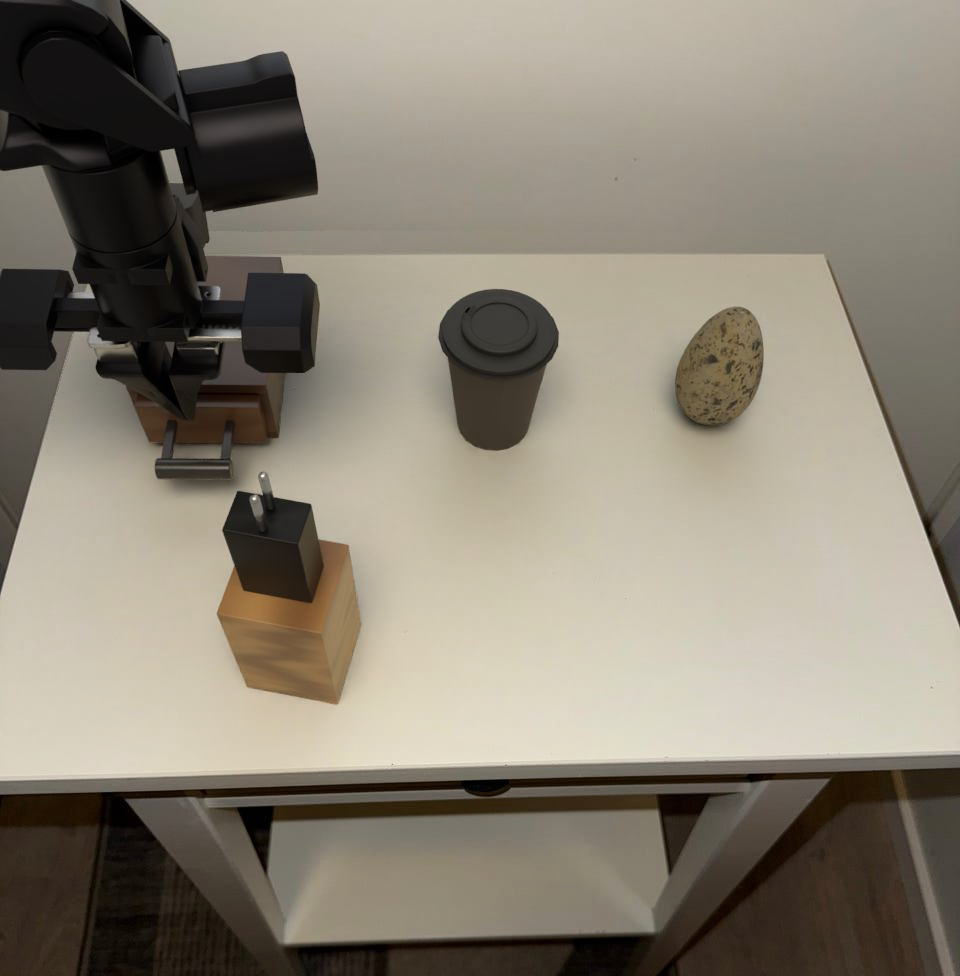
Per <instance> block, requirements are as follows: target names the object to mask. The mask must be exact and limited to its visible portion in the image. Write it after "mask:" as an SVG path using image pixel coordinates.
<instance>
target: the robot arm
mask: <svg viewBox="0 0 960 976" xmlns="http://www.w3.org/2000/svg"><path fill="white" fill-rule="evenodd" d="M169 150H174V153H175V156H176V161H177V165H178V169H179V172H180V177H181V180H182V182H170V180H169V177H168V173H167V169H166V165H165V162H164V158H163V155H162V151H169ZM35 167H41V168H42V170H43V172H44V175H45V178H46V180H47V182H48V185H49V188H50V190H51V192H52V195H53V197H54V200H55V202H56V204H57V208H58V210H59V212H60V215H61V217H62V220H63V223H64V225H65V227H66V230H67V233H68V234H69V238H70V240H71V243H72V245H73V248H74V251H75V255H74V259H73V264H72V267H71V270H72V272H73V274H74V277H75V279H76V282H77V284H78V285H89V288H90V290H91V291H74V288H75V283H74V281H73V277H72V276H71V273H70V271H69V270H65V269H59V268H57V269H55V268H54V269H53V268H50V269H49V268H45V269H44V268H2V269H1V270H0V369H1V370H2V371H47V370H48V369H49V368H50V367H51V366H52V365H53V364H54V363H55V362H56V359H57V355H58V352H57V350H56V348H55V345H54V344H53V342H52V341H53V336H54V334H55V332H63V333H64V332H67V333H68V332H69V333H73V332H74V333H88V334H87V335H88V336H87V339H86V343H87V345H88V347H89V348H90V349H93V351H94V353H95V355H96V362H95V367H94V368H95V371H96V374H97V375H98V376H99V377H100V378H102V379H106V380H114V381H117V382H118V383H120V384H121V385H124V386H125V385H126V386H127V387H129V388H131V389H133V390H135V391H137V392H139V393H140V394H142V395H144V396H146V397H147V398H149V399H151V400H152V401H154V402H155V403H157V404H158V405H160V406H161V407H163V408H164V409H166V410H167V411H169V412H170V413H172V414H173V415H175V416H176V417H178V418H179V419H181V420H194V418H195V411H196V404H197V396H198V391H199V389H200V387H201V385H202V382H203V381H204V380H214V379H216V378H218V377H219V376H220V374H221V369H222V362H223V355H224V348H225V341H239V342H241V341H242V352H243V356H244V360H245V363H246V364H247V365H249V366H251V367H252V368H254V369H255V370H257V371H259V372H260V373H285V374H306V373H308V372H309V371H311V370H312V369H313V368H315V366H316V355H317V345H318V344H317V342H318V331H319V321H320V310H321V309H320V307H321V302H320V296H319V290H318V289H319V288H318V284H317V283H316V281H314V279H312V278H311V277H310V276H309V274H307V273H306V272H305V273H303V272H302V273H301V272H299V273H298V272H284V273H248V278H247V285H246V292H245V300H244V301H239V300H221V289H220V287H219V286H198V284H197V283H198V282H206V279H207V273H208V265H207V261H206V257H205V256H206V254H205V250H204V248H205V246H206V244H208V243H210V240H211V238H210V231H209V226H208V220H207V219H208V218H207V212H212V213H218V212H223V211H229V210H230V211H231V210H235V209H241V208H247V207H253V206H259V205H265V204H271V203H276V202H277V203H278V202H282V201H289V200H294V199H300V198H306V197H311V196H317V195H318V193H319V180H318V178H319V177H318V170H317V164H316V157H315V153H314V150H313V148H312V145H311V142H310V139H309V136H308V133H307V129H306V126H305V121H304V115H303V112H302V107H301V104H300V99H299V96H298V89H297V81H296V75H295V73H294V70H293V68H292V64H291V62H290V58H289V56H288V54H287V52H285V51H284V50H283V51H282V50H281V51H275V52H274V51H273V52H267V53H261V54H258V55H255V56H253V57H250V58H248V59H245V60H241V61H234V62H227V63H220V64H213V65H206V66H200V67H193V68H185V69H178V64H177V61H176V57H175V54H174V50H173V46H172V42H171V41H170V39H169V37H168V36H166V35H165V34H164V33H163V32H162V31H161V30H160V29H159V28H158V27H157V26H156V25H154V23H152V22H151V21H150V20H149V19H147V18H146V17H145V15H143V14H142V13H141V12H140V11H139V10H138V9H137V8H136V7H134V6H133V5H132V4H131V3H130V2H129V1H128V0H0V171H1V172H10V171H15V170H21V169H28V168H35ZM165 342H175V344H174V349H173V355H172V358H171V355H170V353H169V350H168V348H167V345H166V343H165ZM126 386H125V387H126Z"/></svg>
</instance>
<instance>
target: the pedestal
mask: <svg viewBox="0 0 960 976" xmlns="http://www.w3.org/2000/svg"><path fill="white" fill-rule="evenodd" d="M318 539H319V538H318ZM319 544H320V549H321V554H322V559H323V564H324V567H323V570H322V573H321V577H320V580H319V583H318V586H317V589H316V592H315V595H314V598H313V601H312V603H307V602H301V601H296V600H291V599H285V598H280V597H275V596H269V595H264V594H259V593H253V592H248V591H244V590H243V588H242V586H241V583H240V580H239V577H238V574H237V571H236V569H235V566H234V565H233V568H232V571H231V573H230V576H229V579H228V582H227V585H226V587H225V590H224V592H223V595H222V598H221V600H220V603H219V606H218V608H217V611H216V616H217V619H218V621H219V624H220V626H221V628H222V630H223V633H224V636H225V637H226V641H227V643H228V645H229V648H230V650H231V652H232V655H233V657H234V659H235V661H236V664H237V667H238V669H239V671H240V674H241V676H242V679H243V681H244V683H245V686H246V688H250V689H255V690H261V691H266V692H270V693H277V694H281V695H282V694H283V695H285V696H292V697H297V698H303V699H308V700H312V701H318V702H323V703H328V704H333V705H338V704H339V702H340V699H341V696H342V692H343V688H344V686H345V682H346V678H347V675H348V671H349V668H350V665H351V661H352V657H353V654H354V651H355V648H356V645H357V640H358V637H359V634H360V631H361V626H362V621H361V613H360V609H359V601H358V595H357V590H356V584H355V583H356V582H355V576H354V570H353V564H352V557H351V550H350V545H349V544H346V543H341V542H335V541H331V540H326V539H319Z"/></svg>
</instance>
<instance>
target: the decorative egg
mask: <svg viewBox="0 0 960 976" xmlns="http://www.w3.org/2000/svg"><path fill="white" fill-rule="evenodd" d="M764 357H765V350H764V339H763V333H762V329H761V326H760V323H759V321H758V319H757V318H756V316H755V315H754V314H753V313H752V311H750V310H749V309H747V308H745V307H742V306H730V307H727V308H724V309H722V310H720V311H718V312H717V313H715V314H713V315H712V316H711V317H710V318H708V319H707V321H705V323H703V325H702V326H701V327H700V328H699V329H698V330H697V331H696V332H695V334H694V335H693V337H692V338H691V339H690V340H689V342H688V344H687V345H686V347H685V349H684V351H683V353H682V355H681V357H680V359H679V362H678V363H677V367H676V370H675V371H676V372H675V377H674V393H675V397H676V400H677V403H678V405H679V407H680V409H681V411H682V412H683V413H684V414H685V415H686V416H687V417H688V418H690V420H691V421H694V422H695V423H697V424H700V425H704V426H712V427H713V426H720V425H725V424H728V423H730V422H732V421H733V420H735V419H737V418H739V416H741V415H742V414H743V413H744V412H745V411H746V410H747V409H748V408H749V406H750V405H751V404H752V402H753V401H754V399H755V397H756V394H757V392H758V390H759V387H760V384H761V380H762V377H763V370H764V360H765V359H764Z"/></svg>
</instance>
